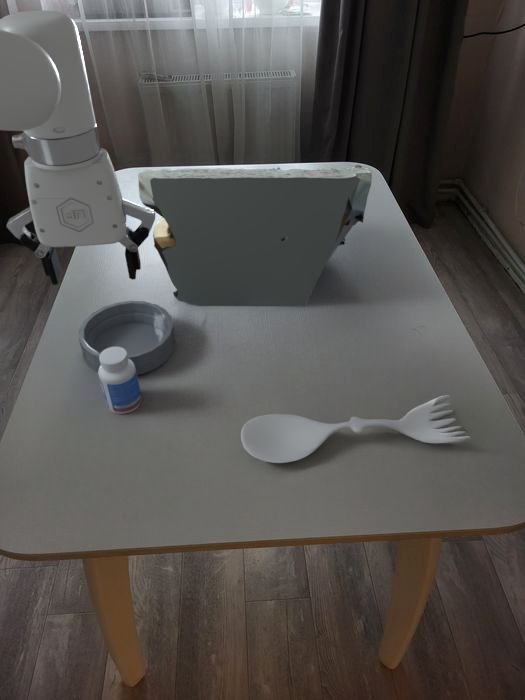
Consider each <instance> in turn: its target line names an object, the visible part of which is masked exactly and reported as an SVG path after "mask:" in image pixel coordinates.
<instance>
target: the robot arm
mask: <svg viewBox="0 0 525 700" xmlns="http://www.w3.org/2000/svg"><path fill="white" fill-rule="evenodd" d="M88 79H89V78H88V74H87V70H86V64H85V59H84V54H83V50H82V44H81V39H80V35H79V30H78V27H77V25H76V23H75V21H74V20H73V19H72V18H71V17H70V16H69V15H68V14H66V13H64V12H61V11H57V10H45V9H44V10H43V9H42V10H41V9H40V10H25V11H19V12H14V13H10V14H7V15H5V16H3V17H2V18H0V131H6V132H7V131H8V132H9V131H10V132H22V133H19V134H14V135H12V136H11V142H12V146H13V148H14V149H21V150H25V151H26V153H27V155H28V157H27V158H26V159H25V160H24V165H23V166H24V177H25V185H26V191H27V192H26V193H27V197H28V203H29V206H28V207H27V208H25V209H23V210H21V211H20V212H19V213H16V214H15V215H13V216H12V217H10V218H9V219H8V221H7V223H6V228H7V230H9V232H10V233H11V234H12V235H13V236H14V237H15V238H16V239H18V240H19V243H20V244H21V245H22V246H24V247H26V248H27V249H28V250H30V251H32V252H34V254H35V256H36V257H37V258H39V259H40V261H41V265H42V267H43V268H42V269H43V271H44V274H45V277H49V278H50V281H51V284H52V286H58V284H60V280H61V276H62V271H63V270H62V266H61V263H60V260H59V256H58V253H57V249H56V248H70V247H72V248H73V247H87V246H101V245H102V246H103V245H112V244H116V243H119V244H121V245H122V247H124V248H125V250H124V256H125V261H126V268H127V271H128V272H127V273H128V279H130V280H131V281H132V280H136V279H137V277H136V276H137V271H139V270H140V271H141V267H142V266H141V265H142V263H141V257H140V251H139V248H140V246H141V245H142V244H143V243H144V242H145V240H147V239H148V237H149V235H150V233H151V230H152V229H153V225H154V223H155V221H156V212H155V211H153V210H152V209H150V208H149V207H146V206H144V205H143V206H142V205H140V204H137V203H135V202H132V201H130V200H128V199H124V198H123V194H122V190H121V187H120V183H119V181H118V180H119V179H118V176H117V173H116V171H115V167H114V165H113V163H112V160H111V157H110V155H109V153H108V151H107V149H105V148H102V147H101V141H100V136H99V131H98V126H97V121H96V115H95V111H94V105H93V100H92V95H91V89H90V85H89V80H88ZM127 216H129V217H131V218H134V219H137V220H139V221H140V222H141V223H140V224H139V225H138V227H137V228H136V229H135V230H134V229H132V228H131V227H130V226H129V225H127ZM32 222H33V225H34V230H35V233H33V232H32V231H31V230H28V229H27V227H26V226H27V225H29V224H30V223H32Z"/></svg>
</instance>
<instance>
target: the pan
mask: <svg viewBox="0 0 525 700" xmlns="http://www.w3.org/2000/svg"><path fill="white" fill-rule="evenodd" d="M78 342H79V346H80V348H81V352H82V356H83V359H84V360H85V362H86V365H88V367H90V368H91V369H92V370H94V371H95V372H96V373H98V371H99V368H100V366H101V365H100V360H99V356H100V354H101V352H102V351H104V350H105V349H107V348H110V347H121V348H123V349H125V350H126V352H127V355H128V359H130V360H131V361H132V362H133V363H134V365H135V369H136V373H137V376H139V375H143V374H146V373H148V372H151V371H154V370H155V369H157V368H159V367H160V366H161V365H163V364H164V363H166V362H167V361H168V359H169V358H170V357H171V356H172V354H173V353H174V350H175V347H176V344H177V343H176V335H175V328H174V322H173V317H172V316H171V315H170V313H169V311H168V310H167V309H165V308H164V307H162V306H160V305H159V304H157V303H153V302H149V301H145V300H125V301H118V302H115V303H111V304H108V305H106V306H105V305H104V306H103V307H101V308H99V309H97V310H95V311H93V312H92V313H91V314H90V315H89V316H88V317H87V318H85V319H84V320H83V322H82V323H81V325H80V328H79V329H78Z"/></svg>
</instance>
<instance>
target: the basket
mask: <svg viewBox="0 0 525 700" xmlns="http://www.w3.org/2000/svg"><path fill="white" fill-rule="evenodd" d="M372 174H373V173H372V168H370V167H363V166H362V165H359V164H357V165H355V166H354V167H347V168H332V167H331V168H322V169H320V168H317V169H304V168H289V169H288V168H287V169H283V168H280V167H279V166H278V167H277V168H244V167H243V168H233V167H231V168H230V167H223V168H221V167H214V168H212V167H211V168H209V167H207V168H203V167H202V168H201V167H200V168H191V167H190V168H186V167H185V168H162V169H144V170H141V171H139V172H138V174H137V179H138V195H139V199H140V201H141V204H143V206H144V207H145V208H148V209H151V210H153V211H154V212H155V214H158V215H159V216H160V217H161V218H160V219H158V221H157V222H156V224H155V225H154V228H153V231H152V232H153V234H152V237H153V243H154V244H153V247H154V249H155V250H157V253H158V255H159V257H160V259H161V261H162V263H163V265H164V267H165V270H166V273H167V274H168V277H169V279H170V281H171V284H172V285H173V286H174V288H175V289H176V290H175V291H173V292H172V294H173V296H174V298H175V299H176V300H177V301H178V302H182V303H188V304H190V305H195V306H201V307H203V306H205V307H208V306H211V307H213V306H218V307H222V306H223V307H224V306H226V307H306V306H307V303H308V301H309V299H310V297H311V295H312V292H313V290H314V289H315V286H316V285H317V283H318V280H319V279H320V276H321V274H322V272H323V271H324V268H325V266H326V264H327V262H328V261H329V260H330V259H331V257H332V256H333V254H334V253H335V252H336V250H337V249H338V248H339V246H342V245H343V246H344V245H345V244H346V242H345V241H346V239H345V238H346V236H347V235H348V233H349V232H350V231H351V229H352V228H353V227H354V226H355V225H356V224H357V223H358V222H360V223H362V224H363V223H364V218H365V211H366V207H367V203H368V197H369V194H370V192H371V191H370V190H371V187H372V182H373V181H372V180H373V179H372V178H373V175H372Z"/></svg>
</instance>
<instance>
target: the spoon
mask: <svg viewBox="0 0 525 700" xmlns="http://www.w3.org/2000/svg"><path fill="white" fill-rule="evenodd" d="M450 398H451V395H450V394H443V395H441V396H439V397H436V398H433V399H431V400H429V401H426V402H425V403H423V404H420V405H417V406H415V407H414V408H412V409H411V410H409V411H408V412H407V413H406V414H405V416H403V417H402V418H400V419H396V420H394V419H386V418H365V419H364V418H360V417H359V416H355V415H353V416H350V418H349V420H348V421H343V422H337V423H326V422H321V421H319V420H315V419H311V418H307V417H304V416H301V415H296V414H282V413H279V414H278V413H272V414H269V413H268V414H264V415H263V414H262V415H259V416H255V417H253V418H250V419H249V420H247V421H246V422H245V423H244V424H243V426H242V428H241V432H240V442H241V445H242V447H243V449H244V450H245V451H246V453H248V454H249V455H250V456H252V457H253V458H255V459H258V460H260V461H263V462H267V463H273V464H285V463H291V462H295V461H296V462H297V461H299V460H302V459H304V458H306V457H307V456H309V455H311V454H312V453H314V452H315V451H316V450H317V449H318V448H319V447H320V446H321V445H322V444H323V443H324V442H325V441H326V440H327V439H328V438H330V436H332V435H334V434H335V433H337V432H340V431H341V432H342V431H345V430H350V431H353V433H355V434H362V433H363V432H364V430H366V429H374V428H384V429H390V430H393V431H395V432H398V433H400V434H402V435H405V436H406V437H409V438H411V439H413V440H415V441H418V442H421V443H425V444H459V443H465V442H468V441H470V440H471V439H472V437H471V436H468V435H466V436H462V435H464V434H466V431H461V430H460V429H461V428H462V426H461V425H457V426H450V427H446V426H449V425H451V424H453V423H454V422H456V421H457V418H455V417H452V418H444V419H443V417H445V416H448V415H450V414H451V413H453V412H454V410H453V409H448V410H444V409H446V408H449V407H450V406H452V403H450V402H447V403H443V402H445V401H448V400H449V399H450ZM441 418H442V419H441ZM457 430H459V431H457Z"/></svg>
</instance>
